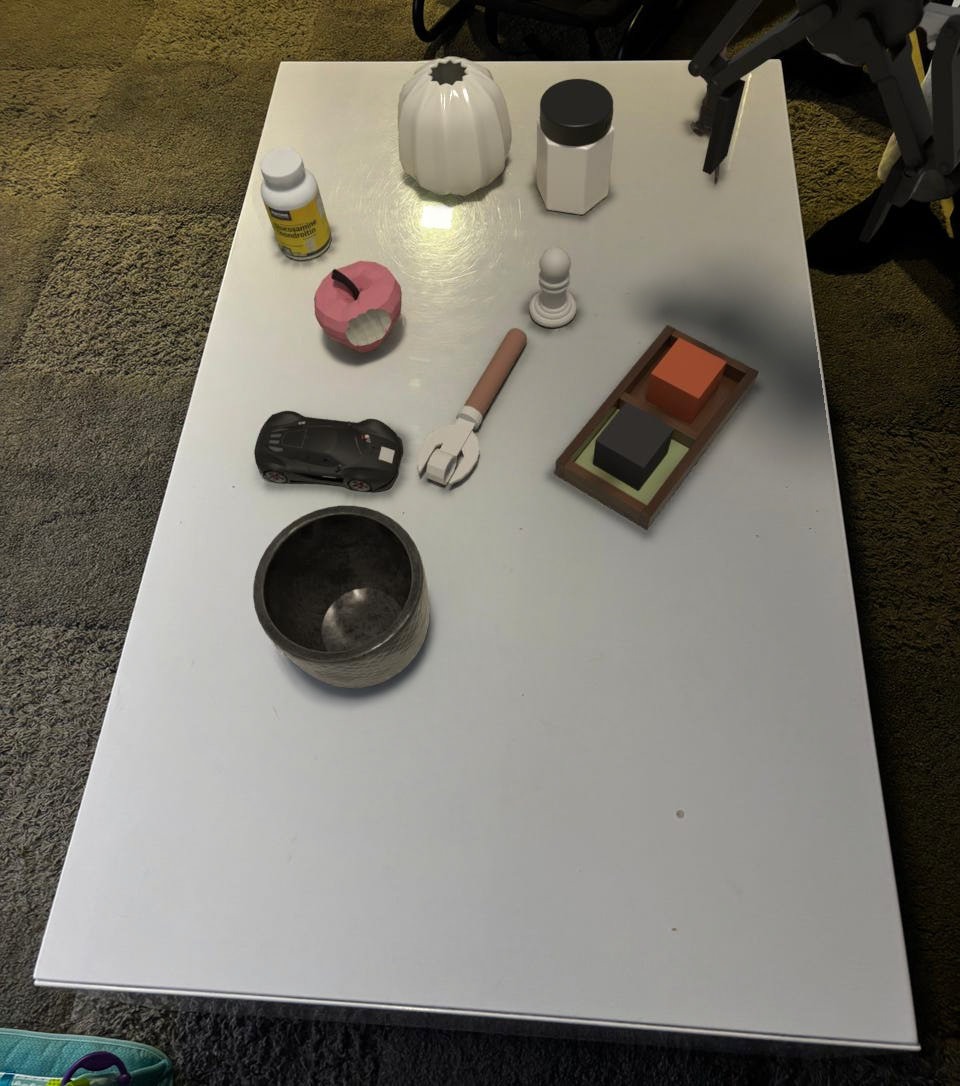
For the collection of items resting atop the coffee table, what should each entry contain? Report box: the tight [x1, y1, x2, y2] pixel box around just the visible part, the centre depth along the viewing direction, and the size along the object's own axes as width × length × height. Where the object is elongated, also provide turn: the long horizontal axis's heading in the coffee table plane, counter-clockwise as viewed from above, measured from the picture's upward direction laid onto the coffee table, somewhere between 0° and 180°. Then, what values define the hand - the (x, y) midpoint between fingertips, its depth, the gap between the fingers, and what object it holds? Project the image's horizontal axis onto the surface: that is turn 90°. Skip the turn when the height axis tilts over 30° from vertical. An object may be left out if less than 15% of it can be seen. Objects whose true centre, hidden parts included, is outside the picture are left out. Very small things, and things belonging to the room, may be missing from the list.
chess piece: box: [528, 246, 578, 329], centre depth 89 cm, size 5×5×9 cm
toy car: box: [253, 410, 404, 493], centre depth 84 cm, size 7×15×4 cm, turn 82°
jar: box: [536, 78, 615, 216], centre depth 96 cm, size 9×8×12 cm
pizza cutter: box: [416, 327, 528, 486], centre depth 87 cm, size 20×6×3 cm, turn 154°
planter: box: [252, 504, 431, 689], centre depth 72 cm, size 14×14×13 cm
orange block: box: [646, 338, 726, 424], centre depth 85 cm, size 6×6×4 cm
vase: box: [397, 56, 513, 197], centre depth 98 cm, size 14×14×13 cm
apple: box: [313, 260, 403, 354], centre depth 89 cm, size 10×9×10 cm
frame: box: [554, 324, 760, 531], centre depth 84 cm, size 11×21×3 cm, turn 143°
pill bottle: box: [259, 146, 332, 261], centre depth 95 cm, size 6×6×12 cm
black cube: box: [593, 402, 674, 491], centre depth 81 cm, size 6×6×4 cm
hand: (790, 196), depth 65 cm, fingers open, 13 cm apart
